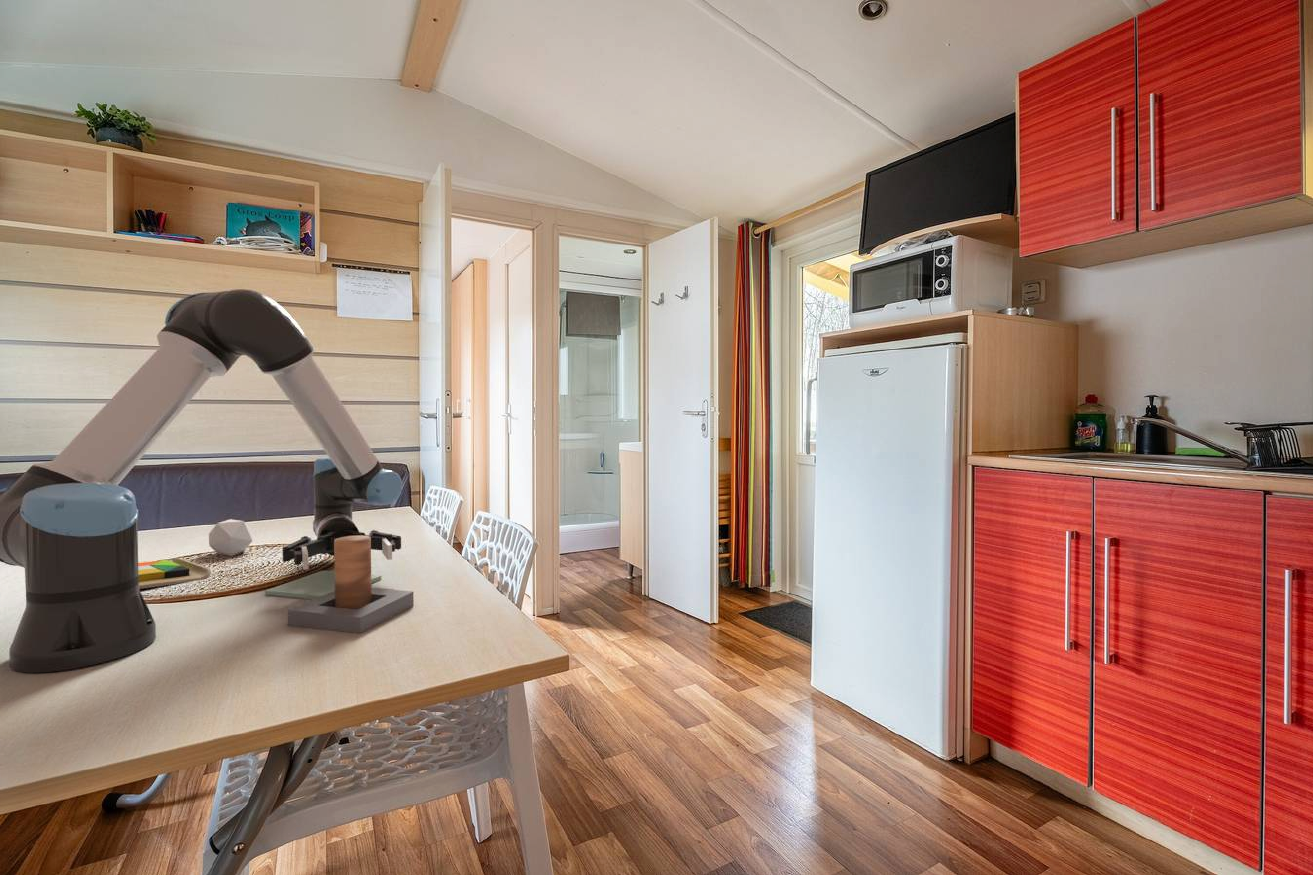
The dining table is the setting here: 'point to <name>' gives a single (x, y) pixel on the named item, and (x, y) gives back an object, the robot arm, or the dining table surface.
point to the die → (230, 537)
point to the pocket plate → (350, 611)
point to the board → (310, 586)
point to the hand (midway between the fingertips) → (349, 557)
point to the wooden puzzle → (169, 572)
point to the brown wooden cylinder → (352, 572)
